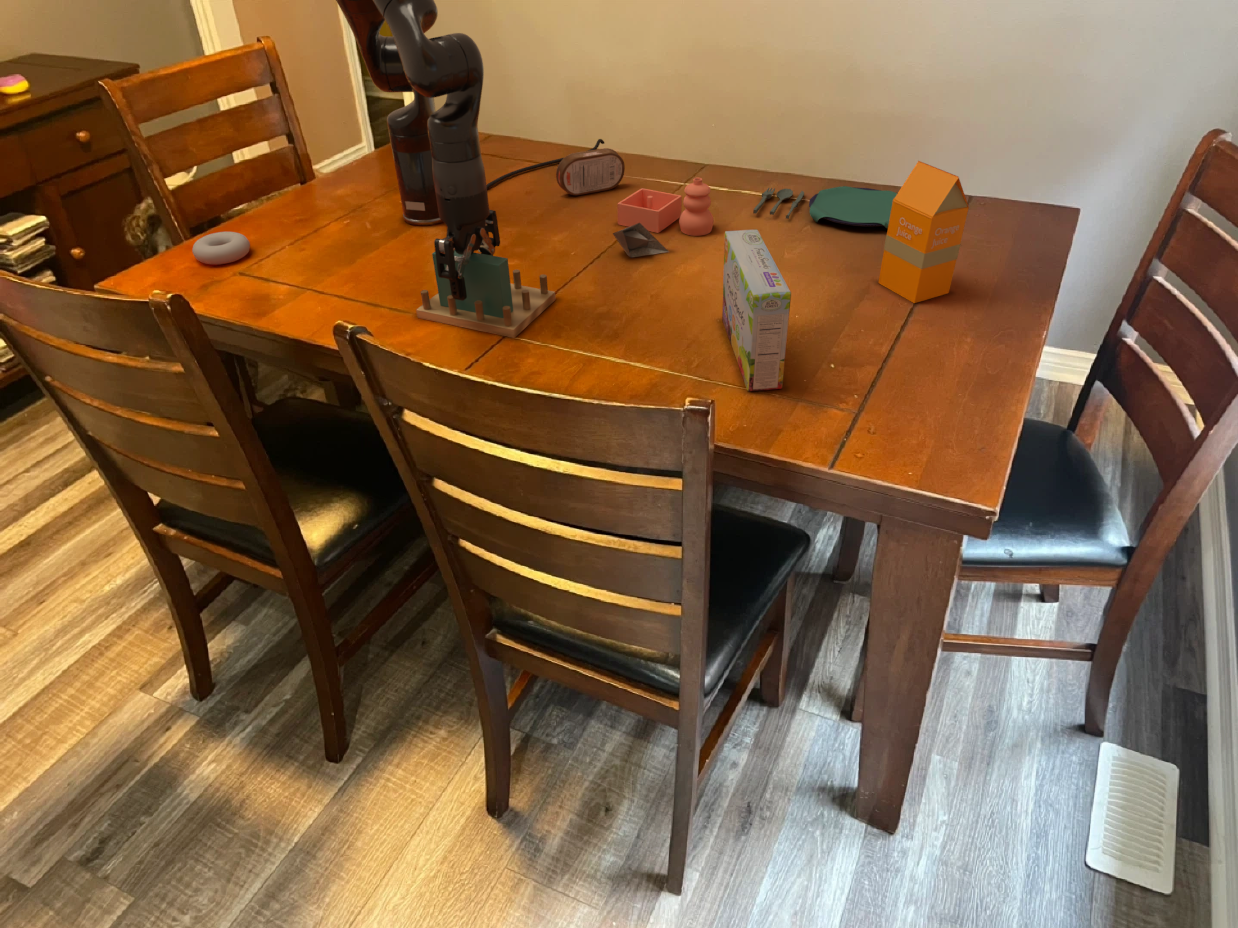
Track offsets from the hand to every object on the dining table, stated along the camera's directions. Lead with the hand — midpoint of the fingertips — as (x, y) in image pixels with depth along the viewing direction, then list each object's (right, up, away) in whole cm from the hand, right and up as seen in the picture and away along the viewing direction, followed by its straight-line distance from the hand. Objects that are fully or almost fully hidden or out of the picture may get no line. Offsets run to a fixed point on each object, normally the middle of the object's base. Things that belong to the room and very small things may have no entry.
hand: (474, 287), depth 135 cm
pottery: (+33, +19, +32) cm, 50 cm away
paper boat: (+26, +10, +21) cm, 35 cm away
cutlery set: (+66, +22, +36) cm, 78 cm away
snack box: (+42, -12, -8) cm, 45 cm away
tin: (+17, +30, +47) cm, 59 cm away
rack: (+1, -2, +5) cm, 6 cm away
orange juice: (+72, +1, +8) cm, 73 cm away
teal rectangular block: (0, -3, +2) cm, 4 cm away
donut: (-51, +11, +24) cm, 57 cm away
